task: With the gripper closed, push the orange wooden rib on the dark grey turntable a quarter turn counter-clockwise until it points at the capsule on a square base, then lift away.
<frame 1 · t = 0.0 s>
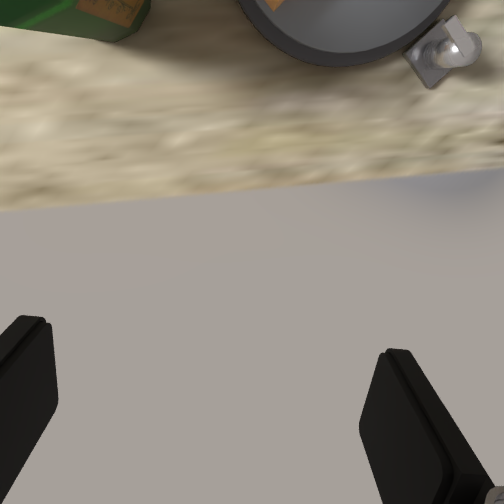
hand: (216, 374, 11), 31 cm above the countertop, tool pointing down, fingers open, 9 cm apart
capsule on square base: (432, 55, 36), on the countertop
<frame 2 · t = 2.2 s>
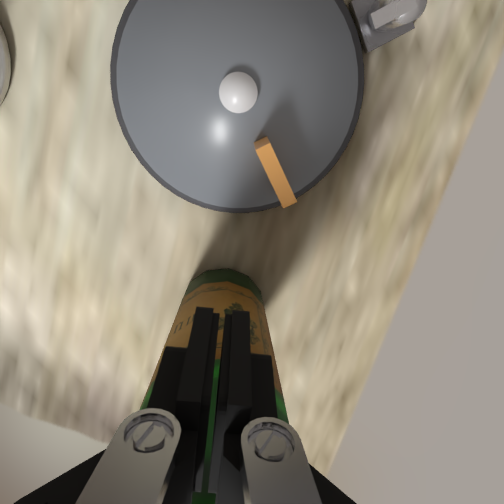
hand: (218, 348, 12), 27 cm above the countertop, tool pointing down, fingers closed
bottle: (223, 301, 42), on the countertop
capsule on square base: (380, 16, 32), on the countertop
turntable: (238, 92, 30), point 5 cm above the countertop, hinge at 0.0°
turntable base: (238, 92, 34), on the countertop
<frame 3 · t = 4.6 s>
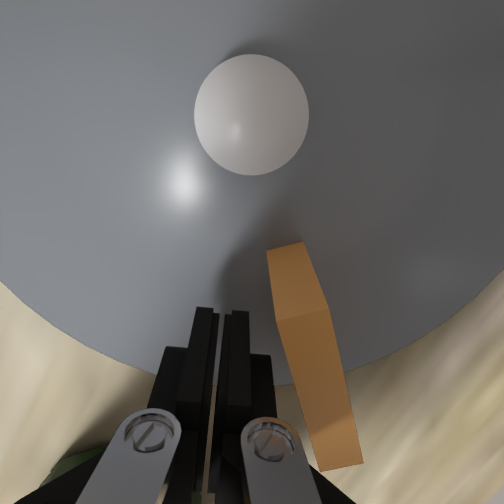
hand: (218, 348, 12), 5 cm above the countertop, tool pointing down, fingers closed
bottle: (125, 491, 22), on the countertop
turntable: (252, 120, 10), point 5 cm above the countertop, hinge at 2.9°, touching gripper
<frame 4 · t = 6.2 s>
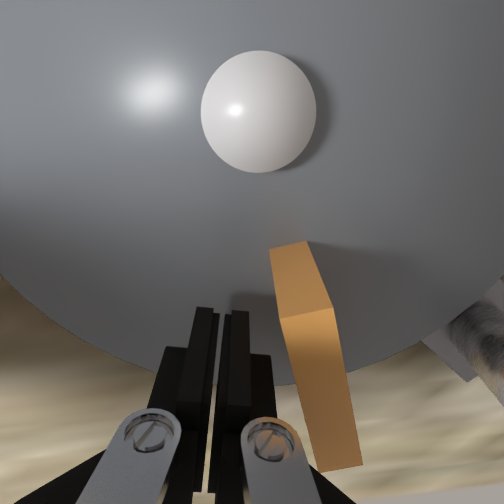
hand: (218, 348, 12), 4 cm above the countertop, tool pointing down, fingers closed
capsule on square base: (469, 319, 17), on the countertop
turntable: (259, 116, 10), point 5 cm above the countertop, hinge at 56.7°, touching gripper
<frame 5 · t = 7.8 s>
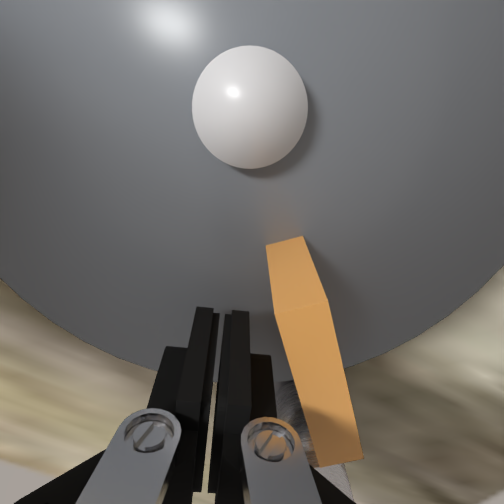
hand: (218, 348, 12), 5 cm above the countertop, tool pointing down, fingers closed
capsule on square base: (298, 388, 19), on the countertop
turntable: (250, 112, 10), point 5 cm above the countertop, hinge at 95.0°, touching gripper
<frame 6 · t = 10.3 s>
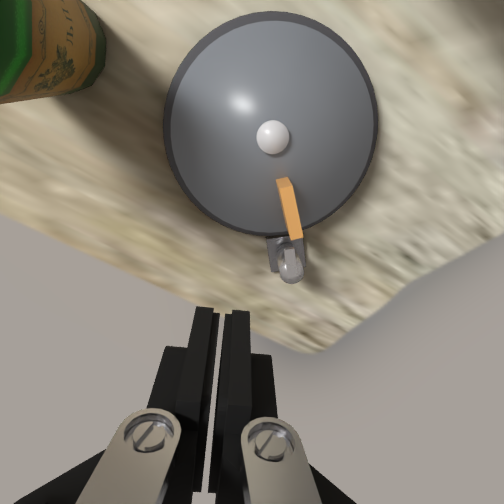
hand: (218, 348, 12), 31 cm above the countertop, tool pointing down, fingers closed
bottle: (62, 43, 36), on the countertop
capsule on square base: (285, 250, 45), on the countertop
turntable: (273, 138, 36), point 5 cm above the countertop, hinge at 95.1°
turntable base: (270, 133, 40), on the countertop
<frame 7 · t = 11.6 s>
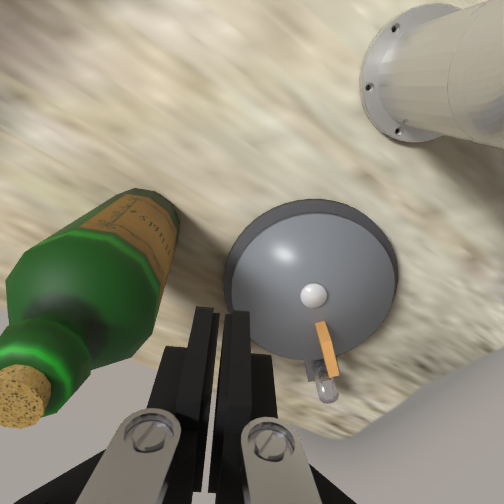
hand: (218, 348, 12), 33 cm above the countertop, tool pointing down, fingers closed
bottle: (143, 222, 46), on the countertop
capsule on square base: (320, 364, 54), on the countertop
turntable: (314, 299, 44), point 5 cm above the countertop, hinge at 95.1°
turntable base: (308, 281, 49), on the countertop
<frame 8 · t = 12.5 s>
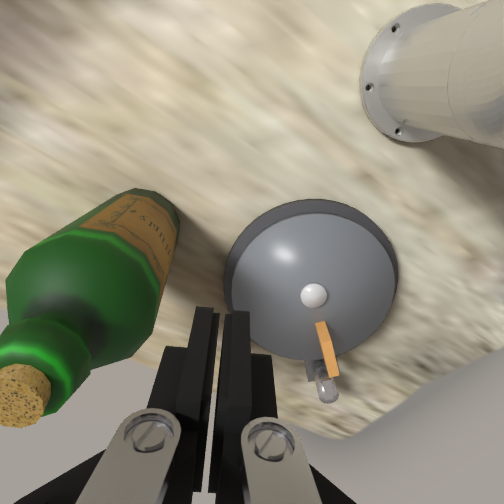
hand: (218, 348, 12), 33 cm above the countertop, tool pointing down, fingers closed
bottle: (143, 222, 46), on the countertop
capsule on square base: (320, 364, 54), on the countertop
turntable: (314, 299, 44), point 5 cm above the countertop, hinge at 95.1°
turntable base: (308, 281, 49), on the countertop
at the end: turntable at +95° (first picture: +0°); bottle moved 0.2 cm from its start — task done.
